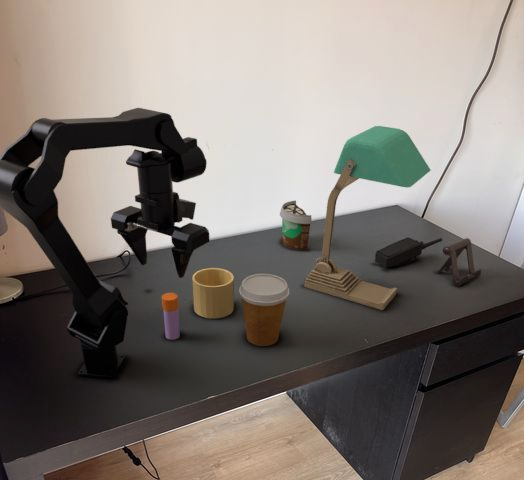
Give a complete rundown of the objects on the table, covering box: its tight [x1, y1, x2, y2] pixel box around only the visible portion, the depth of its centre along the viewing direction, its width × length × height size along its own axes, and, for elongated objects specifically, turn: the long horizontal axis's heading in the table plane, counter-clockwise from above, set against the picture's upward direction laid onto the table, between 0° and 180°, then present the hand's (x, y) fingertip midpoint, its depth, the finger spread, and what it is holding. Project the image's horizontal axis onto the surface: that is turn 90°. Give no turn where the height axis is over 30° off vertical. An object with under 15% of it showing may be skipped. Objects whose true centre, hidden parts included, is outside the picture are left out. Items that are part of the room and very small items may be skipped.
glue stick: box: [161, 292, 181, 341], centre depth 102 cm, size 3×3×9 cm
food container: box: [279, 200, 312, 251], centre depth 140 cm, size 12×6×10 cm, turn 17°
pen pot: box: [191, 267, 235, 319], centre depth 112 cm, size 9×9×8 cm
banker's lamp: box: [304, 125, 431, 311], centre depth 112 cm, size 16×21×35 cm
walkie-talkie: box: [374, 237, 443, 269], centre depth 136 cm, size 6×6×20 cm
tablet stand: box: [437, 237, 482, 287], centre depth 128 cm, size 9×8×8 cm
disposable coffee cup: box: [238, 273, 290, 347], centre depth 102 cm, size 10×10×12 cm
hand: (162, 270), depth 100 cm, fingers open, 9 cm apart
